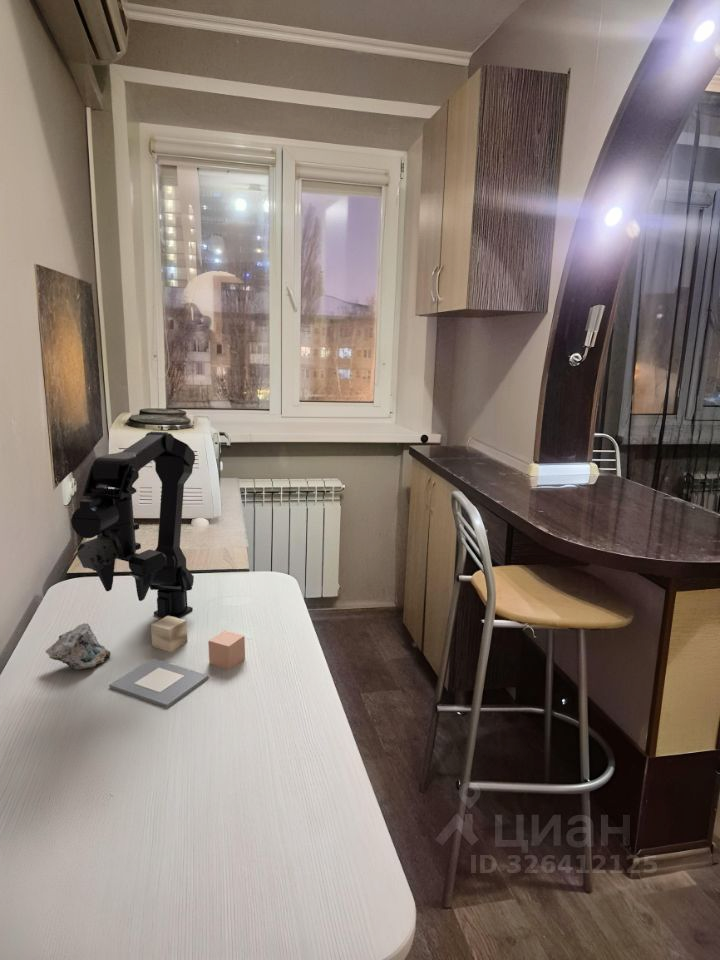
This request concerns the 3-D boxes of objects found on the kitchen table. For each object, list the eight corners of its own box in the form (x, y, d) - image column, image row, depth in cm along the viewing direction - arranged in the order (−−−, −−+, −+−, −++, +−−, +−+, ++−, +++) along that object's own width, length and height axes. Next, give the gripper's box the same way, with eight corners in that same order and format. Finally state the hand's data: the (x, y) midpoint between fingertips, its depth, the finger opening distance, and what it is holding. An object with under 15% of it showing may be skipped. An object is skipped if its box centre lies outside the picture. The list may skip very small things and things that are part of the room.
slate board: (152, 660, 126) (152, 657, 126) (208, 678, 120) (208, 674, 120) (109, 687, 116) (109, 684, 116) (167, 707, 110) (167, 704, 110)
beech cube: (169, 636, 136) (168, 615, 135) (187, 641, 134) (186, 620, 133) (152, 646, 132) (150, 624, 131) (170, 652, 130) (169, 629, 128)
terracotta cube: (225, 652, 130) (224, 630, 129) (245, 658, 127) (244, 635, 126) (209, 663, 125) (208, 640, 124) (229, 669, 123) (228, 646, 122)
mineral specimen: (91, 691, 124) (76, 658, 131) (122, 660, 125) (106, 629, 132) (54, 675, 117) (40, 641, 124) (88, 643, 118) (72, 611, 125)
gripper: (49, 524, 119) (58, 600, 123) (119, 541, 111) (126, 622, 115) (97, 509, 129) (104, 580, 133) (165, 524, 120) (171, 599, 124)
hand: (124, 595), depth 126 cm, fingers open, 9 cm apart
